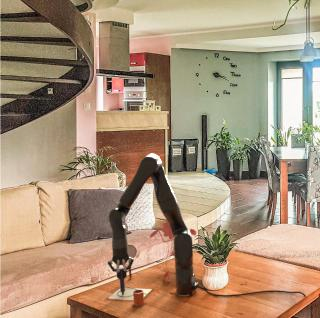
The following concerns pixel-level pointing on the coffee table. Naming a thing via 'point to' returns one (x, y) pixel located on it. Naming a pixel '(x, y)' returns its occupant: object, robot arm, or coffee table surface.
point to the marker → (122, 280)
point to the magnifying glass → (131, 255)
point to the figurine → (168, 232)
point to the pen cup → (138, 297)
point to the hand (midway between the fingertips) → (121, 278)
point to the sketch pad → (127, 294)
